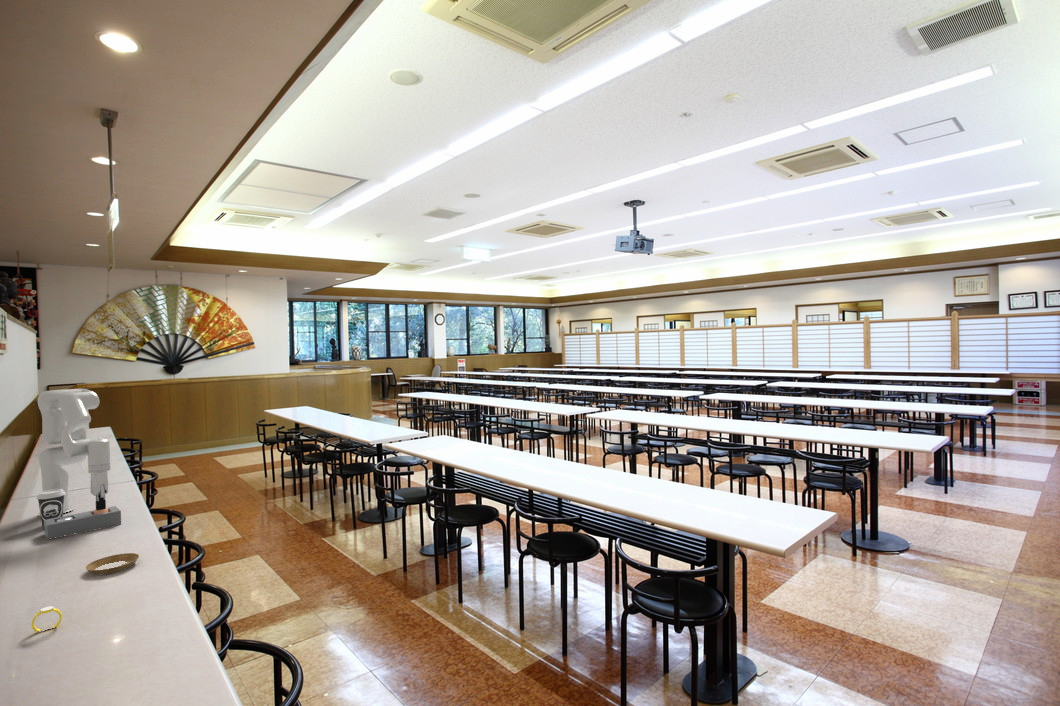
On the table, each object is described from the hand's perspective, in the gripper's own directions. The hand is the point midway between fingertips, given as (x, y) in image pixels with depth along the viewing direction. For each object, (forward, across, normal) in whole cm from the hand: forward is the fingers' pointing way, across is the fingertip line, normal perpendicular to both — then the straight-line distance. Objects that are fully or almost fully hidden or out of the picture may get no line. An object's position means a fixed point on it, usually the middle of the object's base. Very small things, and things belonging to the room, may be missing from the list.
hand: (100, 509), depth 230 cm
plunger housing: (+7, 0, -6) cm, 9 cm away
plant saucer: (+8, +63, -7) cm, 64 cm away
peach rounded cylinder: (+5, 0, 0) cm, 5 cm away
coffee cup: (+7, -19, -14) cm, 25 cm away
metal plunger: (+7, 0, -12) cm, 14 cm away
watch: (+8, +101, -28) cm, 105 cm away
